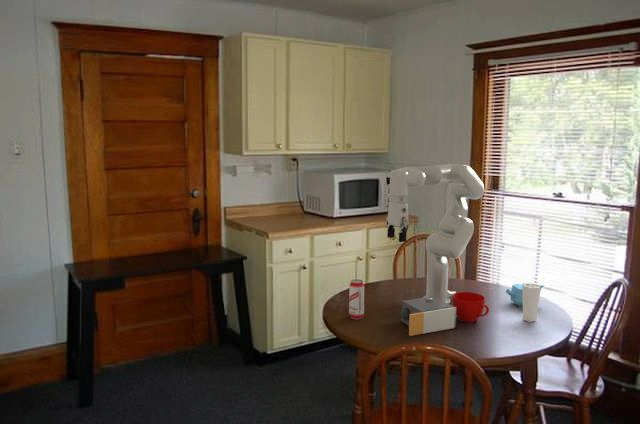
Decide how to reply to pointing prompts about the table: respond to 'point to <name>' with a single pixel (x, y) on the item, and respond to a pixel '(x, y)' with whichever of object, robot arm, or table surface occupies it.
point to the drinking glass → (530, 301)
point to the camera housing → (421, 306)
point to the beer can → (356, 299)
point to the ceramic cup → (469, 306)
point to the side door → (432, 321)
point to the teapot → (517, 294)
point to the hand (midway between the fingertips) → (396, 239)
